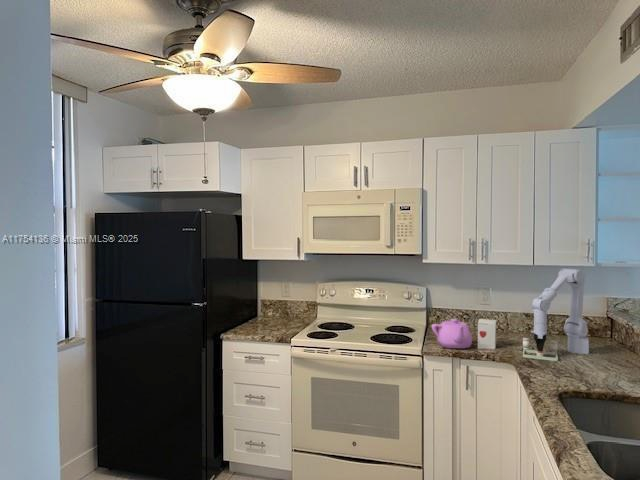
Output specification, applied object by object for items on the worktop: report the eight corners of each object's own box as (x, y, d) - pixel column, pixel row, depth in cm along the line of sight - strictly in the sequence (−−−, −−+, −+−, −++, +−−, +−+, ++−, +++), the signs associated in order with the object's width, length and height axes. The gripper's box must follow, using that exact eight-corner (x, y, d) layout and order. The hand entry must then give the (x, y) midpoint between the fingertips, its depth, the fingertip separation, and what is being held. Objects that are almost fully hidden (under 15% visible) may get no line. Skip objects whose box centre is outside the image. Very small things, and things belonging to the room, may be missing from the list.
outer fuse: (529, 349, 226) (529, 337, 226) (529, 350, 224) (529, 339, 224) (522, 348, 228) (522, 337, 228) (522, 350, 225) (522, 338, 225)
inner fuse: (557, 352, 220) (557, 340, 220) (557, 353, 218) (557, 342, 218) (550, 351, 222) (550, 340, 222) (550, 353, 219) (550, 341, 219)
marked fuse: (543, 356, 214) (543, 344, 214) (543, 358, 212) (543, 346, 211) (536, 355, 216) (537, 343, 215) (536, 357, 213) (537, 345, 213)
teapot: (427, 342, 244) (427, 316, 244) (464, 342, 244) (465, 316, 244) (438, 353, 221) (438, 324, 221) (479, 353, 221) (479, 324, 221)
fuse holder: (560, 354, 221) (560, 349, 221) (561, 357, 216) (561, 352, 216) (519, 349, 230) (519, 344, 230) (519, 352, 224) (519, 347, 224)
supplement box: (477, 349, 230) (477, 321, 230) (478, 345, 238) (478, 318, 238) (495, 351, 226) (495, 322, 226) (496, 347, 235) (496, 319, 234)
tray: (556, 357, 215) (556, 352, 215) (557, 363, 205) (557, 358, 205) (523, 353, 222) (523, 349, 222) (522, 358, 212) (522, 354, 212)
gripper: (531, 319, 222) (531, 345, 222) (531, 324, 209) (530, 352, 209) (546, 320, 219) (546, 347, 219) (547, 326, 206) (547, 354, 206)
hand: (540, 350), depth 214 cm, fingers open, 4 cm apart
